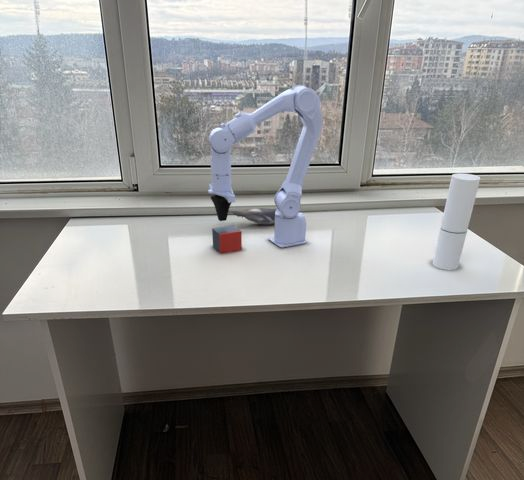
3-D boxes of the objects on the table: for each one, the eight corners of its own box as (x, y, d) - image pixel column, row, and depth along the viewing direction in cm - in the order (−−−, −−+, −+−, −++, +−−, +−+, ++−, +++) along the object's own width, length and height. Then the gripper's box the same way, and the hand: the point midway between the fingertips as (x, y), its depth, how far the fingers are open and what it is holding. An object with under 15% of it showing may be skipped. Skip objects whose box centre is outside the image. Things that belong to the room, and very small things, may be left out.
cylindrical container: (458, 262, 146) (480, 175, 132) (458, 271, 140) (480, 181, 127) (433, 258, 148) (452, 172, 134) (431, 267, 142) (451, 178, 128)
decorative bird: (291, 226, 170) (292, 211, 167) (219, 228, 167) (218, 214, 164) (287, 220, 175) (288, 206, 173) (217, 222, 172) (217, 208, 169)
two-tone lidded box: (233, 225, 152) (241, 231, 148) (233, 243, 155) (241, 250, 151) (212, 228, 149) (220, 234, 145) (212, 247, 152) (220, 253, 148)
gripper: (198, 169, 146) (201, 214, 153) (218, 181, 135) (220, 229, 143) (220, 167, 149) (221, 212, 156) (241, 178, 138) (242, 225, 145)
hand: (222, 220), depth 150 cm, fingers closed
